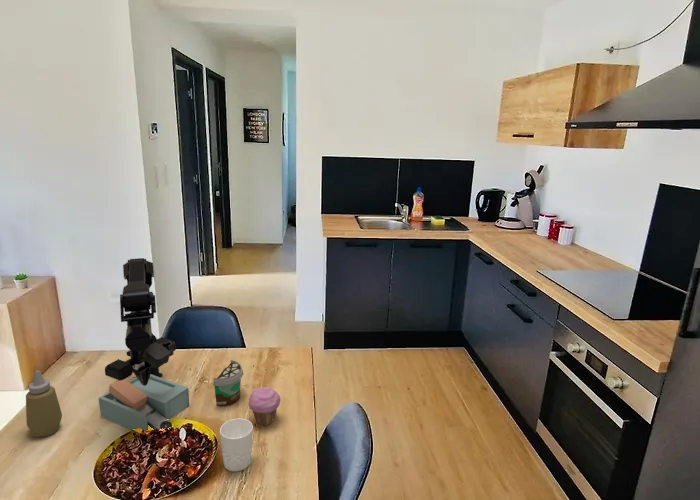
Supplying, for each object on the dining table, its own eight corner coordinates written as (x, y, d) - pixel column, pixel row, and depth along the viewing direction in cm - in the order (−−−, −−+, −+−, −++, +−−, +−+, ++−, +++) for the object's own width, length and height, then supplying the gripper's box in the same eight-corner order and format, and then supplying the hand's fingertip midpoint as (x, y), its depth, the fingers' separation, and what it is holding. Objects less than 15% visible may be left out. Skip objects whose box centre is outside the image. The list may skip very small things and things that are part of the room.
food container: (233, 412, 134) (232, 382, 132) (214, 409, 135) (212, 379, 133) (250, 389, 146) (249, 361, 143) (232, 386, 147) (231, 359, 144)
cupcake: (270, 433, 126) (269, 402, 123) (243, 425, 128) (242, 394, 126) (285, 415, 134) (285, 385, 131) (259, 408, 136) (259, 379, 134)
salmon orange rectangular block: (108, 391, 129) (109, 384, 128) (122, 384, 133) (123, 377, 132) (133, 410, 126) (134, 403, 125) (146, 402, 129) (147, 395, 128)
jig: (100, 416, 130) (98, 397, 128) (146, 389, 144) (145, 372, 142) (145, 436, 123) (143, 416, 121) (189, 405, 136) (188, 387, 135)
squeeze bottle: (70, 425, 126) (62, 367, 121) (43, 443, 118) (33, 382, 114) (49, 418, 128) (40, 361, 123) (21, 435, 121) (10, 375, 116)
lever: (115, 399, 128) (116, 395, 128) (127, 392, 132) (128, 388, 131) (163, 437, 122) (164, 432, 122) (174, 428, 126) (175, 424, 125)
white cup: (224, 451, 118) (223, 418, 115) (255, 451, 119) (254, 418, 116) (218, 474, 110) (217, 439, 108) (251, 473, 111) (250, 438, 108)
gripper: (132, 356, 109) (137, 412, 113) (188, 326, 125) (191, 376, 130) (100, 345, 113) (106, 399, 118) (159, 318, 130) (162, 366, 134)
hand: (144, 384), depth 125 cm, fingers closed
